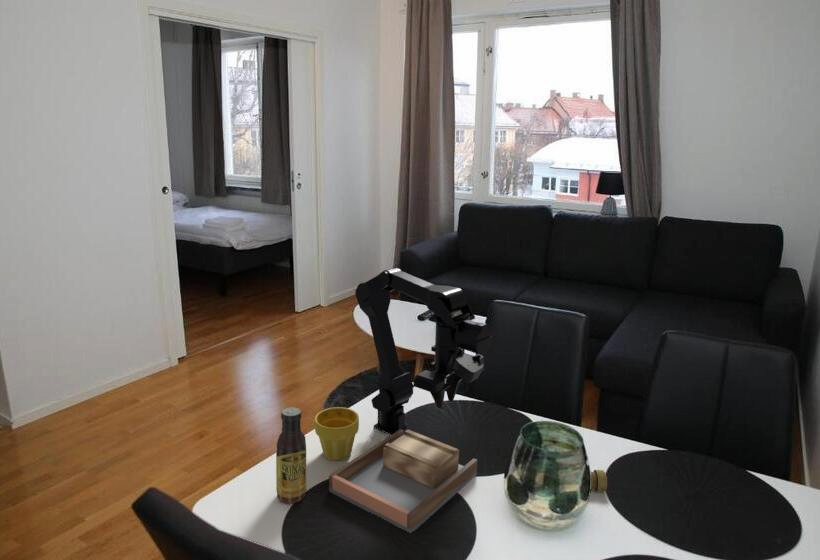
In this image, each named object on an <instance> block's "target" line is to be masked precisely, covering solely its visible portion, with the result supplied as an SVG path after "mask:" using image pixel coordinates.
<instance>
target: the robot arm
mask: <svg viewBox="0 0 820 560" xmlns="http://www.w3.org/2000/svg"><path fill="white" fill-rule="evenodd" d="M394 290H395V291H398V292H400V293H402V294H404V295H407V296H409V297H411V298H413V299H416V300H417V301H419V302H422V303H424V304H425V306H426V307H427V309H428V311H430V312H431V313H433V314H432V315H431V316H430V317H428V321H430V322H433V323H435V338H434V339H435V343H434V345H433V346H431V349H430V351H431V352H434V361H432V362H431V363H430V367H431V369H434V370H435V371H429V370H427V369H425V370H423V371H421V372H419V373H418V374H416V375H415V376H413V380H412V374H411V373H410V372H406V371H405V370H404V369H403V368H402V367H401V364H400V359H399V355H398V352H397V347H396V343H395V339H394V334H393V331H392V327H391V323H390V318H389V314H388V312H389V309H390V305H391V292H393V291H394ZM355 298H356V301H357V303H358V306H359V309H360V310H361V311H362V312H363V313H364V314H365V315H366V316H367V318H368V321H369V325H370V329H371V333H372V338H373V342H374V346H375V350H376V353H377V354H376V355H377V358H378V362H379V363H378V364H379V368H380V371H381V373H380V376H379V380H378V391H379V392H378V393H377V395H375V396H374V397H373V398H372V399H370V400H371V403H372V408H373V409H375V410H377V423H375V424H374V425H373V429H377V430H379V431H382V432H384V433H386V434H389V435H392V434H393V433H395V432H396V431H398V430H400V429H401V430H403V429H404V428H406V427H407V426H408V423H407V422H406V413H405V411H404V410H405V406H404V405H405V404H408V403H409V401H410V399H411V398H412V396H413V394H414V388H418V389H420V390H423V391H427V392H429V393H430V394H431V397H432V399H433V401H434V403H435V406H436V408H438V409H443V405H444V402H445V401H444V400H445V393H446V395H447V399H448V401H449V402H453V401H454V400H455V396H456V394H457V391H458V388H459V386H460V383H461V381H462V380H463V381H464V382H465V383H466V384H472V383H473V382H474V381H476V380H478V379H479V378H480V377H479V376H480V374H481V373H482V372H483V371H484V370H485V357H484V356H485V354H487V352H489V350H490V348H491V346H492V342H493V336H492V333H491V331H490V330H489V329H488V326H487V325H488V324H487V323H484V322H478V321H474V320H475V319H476V316H475V314H474V312H473V310H472V308H471V306H470V304H469V302H468V299H467V297H466V294H465V291H463V289H461V288H460V287H457V286H450V285H439V284H438V285H437V284H434V283H431V282H428V281H427V280H424V279H422V278H419V277H416V276H414V275H412V274H409V273H407V272H405V271H402V269H400V268H398V267H393V268H387V269H385V270H382V271H381V272H380V273H379V274H377V275H376V276H374V277H372V278H371V279H369V280H367V281H365V282H360V283H359V284H358V285H357V286H356V289H355ZM458 313H461V314H458ZM456 314H457V315H456ZM453 315H455V316H453ZM465 351H468V352H471V353H473V354H476V355H472V354H469V353H467V352H465ZM483 355H484V356H483Z"/></svg>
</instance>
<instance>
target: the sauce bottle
mask: <svg viewBox="0 0 820 560" xmlns="http://www.w3.org/2000/svg"><path fill="white" fill-rule="evenodd" d="M280 418H281V422H282V423H281V424H282V425H281V426H282V427H281V433H280V434H279V436H278V439H277V441H276V455H275V459H276V460H275V461H276V462H275V463H276V464H275V465H276V469H275V471H276V473H275V476H276V477H275V478H276V479H275V481H276V482H275V484H276V485H275V486H276V488H275V489H276V490H275V491H276V497H277V500H278V501H279V502H280V503H283V504H288V505H289V504H296V503H298V502H301V501H302V500H303V499H304V498H305V496H306V491H307V443H306V442H307V441H306V435H305V434H304V433H303V432H302V426H301V419H302V410H301V408H298V407H294V406H292V407H291V406H290V407H286V408H284V409H282V410H281V413H280Z"/></svg>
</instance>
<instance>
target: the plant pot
mask: <svg viewBox="0 0 820 560" xmlns="http://www.w3.org/2000/svg"><path fill="white" fill-rule="evenodd" d="M359 426H360V417H359V414H358V412H357V411H355V410H353V409H351V408H348V407H343V406H342V407H341V406H337V407H335V406H334V407H329V408H326V409H322V410H320V411H319V412H317V413H316V415H315V417H314V431H315V434H316V436H317V437H318V438H319V442H320V446H321V449H322V454H323V456H324V457H325V458H326V459H327V460H329V461H334V462H335V461H336V462H338V461H343V460H346V459H347V458H349V457H350V456H351V454H352V451H353V447H354V442H355V437H356V435H357V434H358V432H359V428H360V427H359Z"/></svg>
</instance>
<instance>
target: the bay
mask: <svg viewBox="0 0 820 560" xmlns="http://www.w3.org/2000/svg"><path fill="white" fill-rule="evenodd" d="M403 435H404V430H403V429H400V430H398V431H396V432H395V433H393V434H392V435H391V434H389V436H387V437H386V438H384V439H382V440H381V441H380V442H378V443H376V444H375V445H374V446H372V447H370V448H369V449H367V450H365V451H364V452H363V453H361V454H359V455H357V457H355V458H353V459H351V460H350V461H348V462H347V463H345V464H344V465H342V466H341V467H340V468H338V469H336V470H335V471H333V472H332V473H330V474H328V491H329V492H330V493H332V494H333V495H335V496H337V497H338V498H341V499H342V500H345V501H347V502H348V503H351V504H352V505H354V506H356V507H359V508H360V509H362V510H364V511H366V512H368V513H370V512H371V513H370V514H372V515H373V514H375V515H377V516H378V517H377V516H376V517H377V518H379V517H381V518H382V519H381V518H380V519H381V520H383V519H384V520H383V521H385V520H386V521H385V522H387V521H388V522H387V523H389V522H390V523H389V524H391V523H392V524H391V525H393V524H394V525H393V526H395V527H397V528H399V529H400V528H401V530H402V529H403V531H404V530H405V531H404V532H406V531H407V533H408V532H409V533H408V534H410V533H412V532H413V531H414V532H415V531H416V530H417V529H419V528H420V527H421V524H422V525H423V524H424V523H425V522H426V521H427V520H428V519H430V516H431V517H432V516H433V515H434V514H435V513H437V511H438V510H440V509H441V508H442V507H443V506H444V505H446V504H447V502H448V501H450V500H451V499H452V498H454V496H455V495H456V494H458V493H459V491H461V490H462V489H463V488H464V487H465V486H467V484H468V483H470V482H471V481H472V480H473V479H474V478H475V477H477V476H478V475H477V473H478V459H476V458H472V459H471V460H470V461H468V462H467V463H466V464H465V465H462V464H460V463H459V464H458V468H457V469H456V470H455V471H454V472H453V473H452V474H450V475H449V476H448V477H447V478H446V479H444V480H443V481H442V482H441V483H440V484H438V485H437V486H436V487H435V488H431V487H429V486H427V485H425V484H422V483H420V482H418V481H416V480H414V479H411V478H409V477H407V476H405V475H403V474H400V473H398V472H396V471H394V470H392V469H389V468H387V467H385V466H383V448H385V444H387V443H390V444H391V443H392V442H394V441H395V440H397V439H398V438H400V437H401V436H403ZM375 515H374V516H375ZM414 532H413V533H414ZM413 533H412V534H413Z"/></svg>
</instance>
